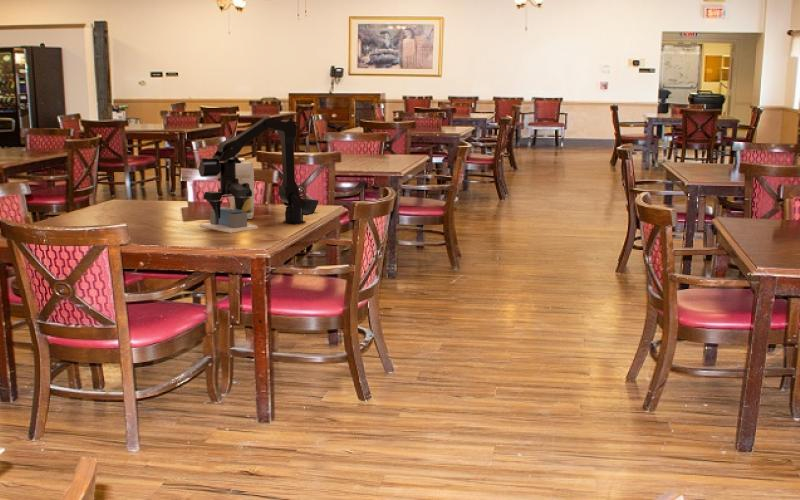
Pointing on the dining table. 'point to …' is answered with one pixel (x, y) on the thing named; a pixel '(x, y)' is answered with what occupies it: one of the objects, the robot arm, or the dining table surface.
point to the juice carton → (244, 176)
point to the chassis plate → (227, 229)
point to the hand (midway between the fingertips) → (228, 217)
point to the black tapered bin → (309, 206)
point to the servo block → (226, 215)
